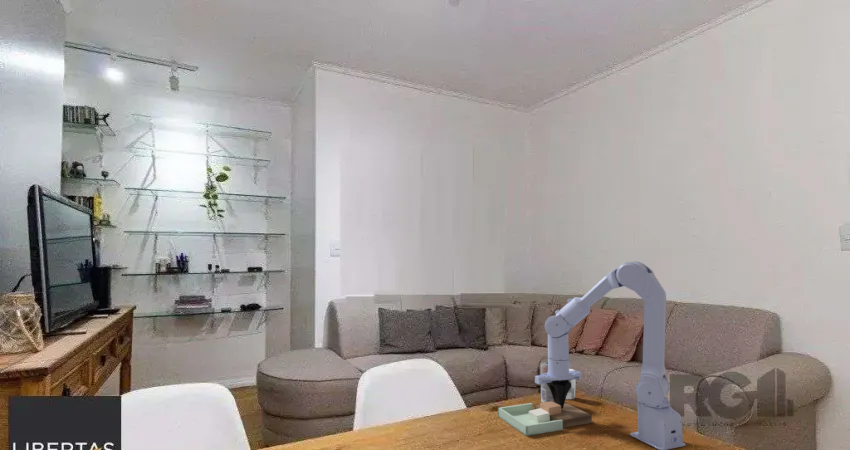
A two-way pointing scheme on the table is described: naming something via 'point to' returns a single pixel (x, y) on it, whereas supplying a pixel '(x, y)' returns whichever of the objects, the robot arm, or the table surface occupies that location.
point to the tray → (527, 420)
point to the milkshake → (572, 390)
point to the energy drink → (545, 385)
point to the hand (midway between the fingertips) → (559, 407)
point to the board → (570, 416)
